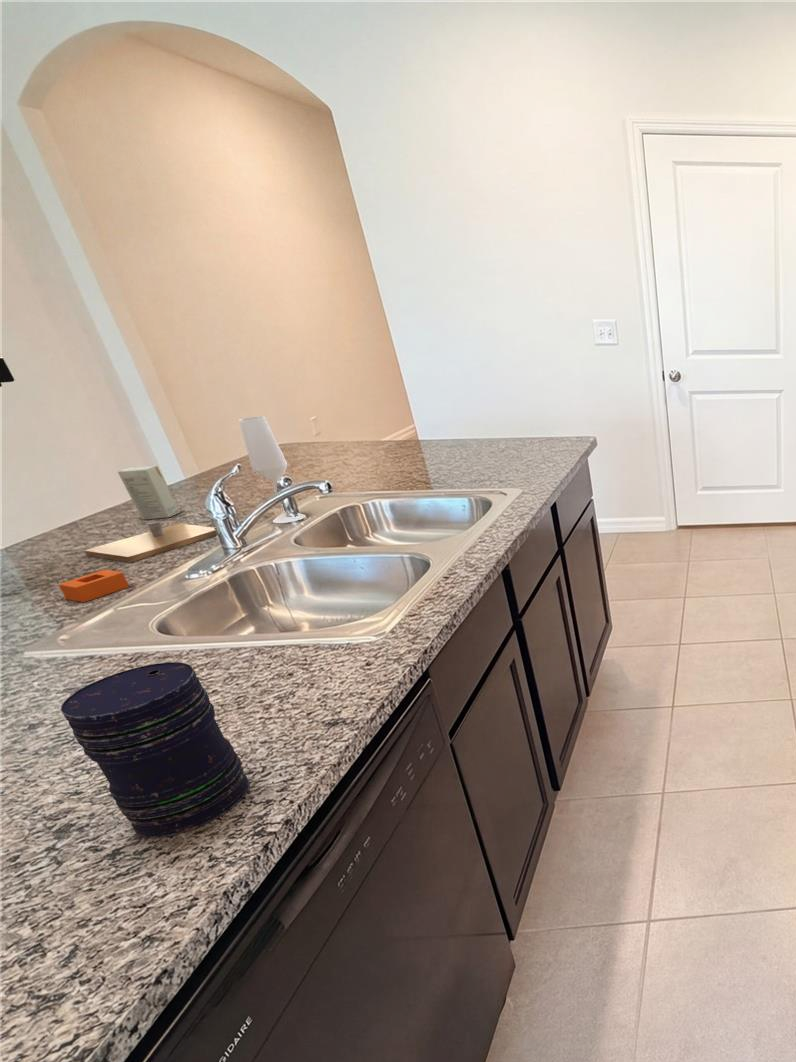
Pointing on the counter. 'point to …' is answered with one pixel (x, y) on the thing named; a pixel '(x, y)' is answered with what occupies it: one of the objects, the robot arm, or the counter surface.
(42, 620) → the counter surface
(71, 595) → the orange block
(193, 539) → the base pad
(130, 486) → the cosmetic box
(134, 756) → the stacked disc cylinder
